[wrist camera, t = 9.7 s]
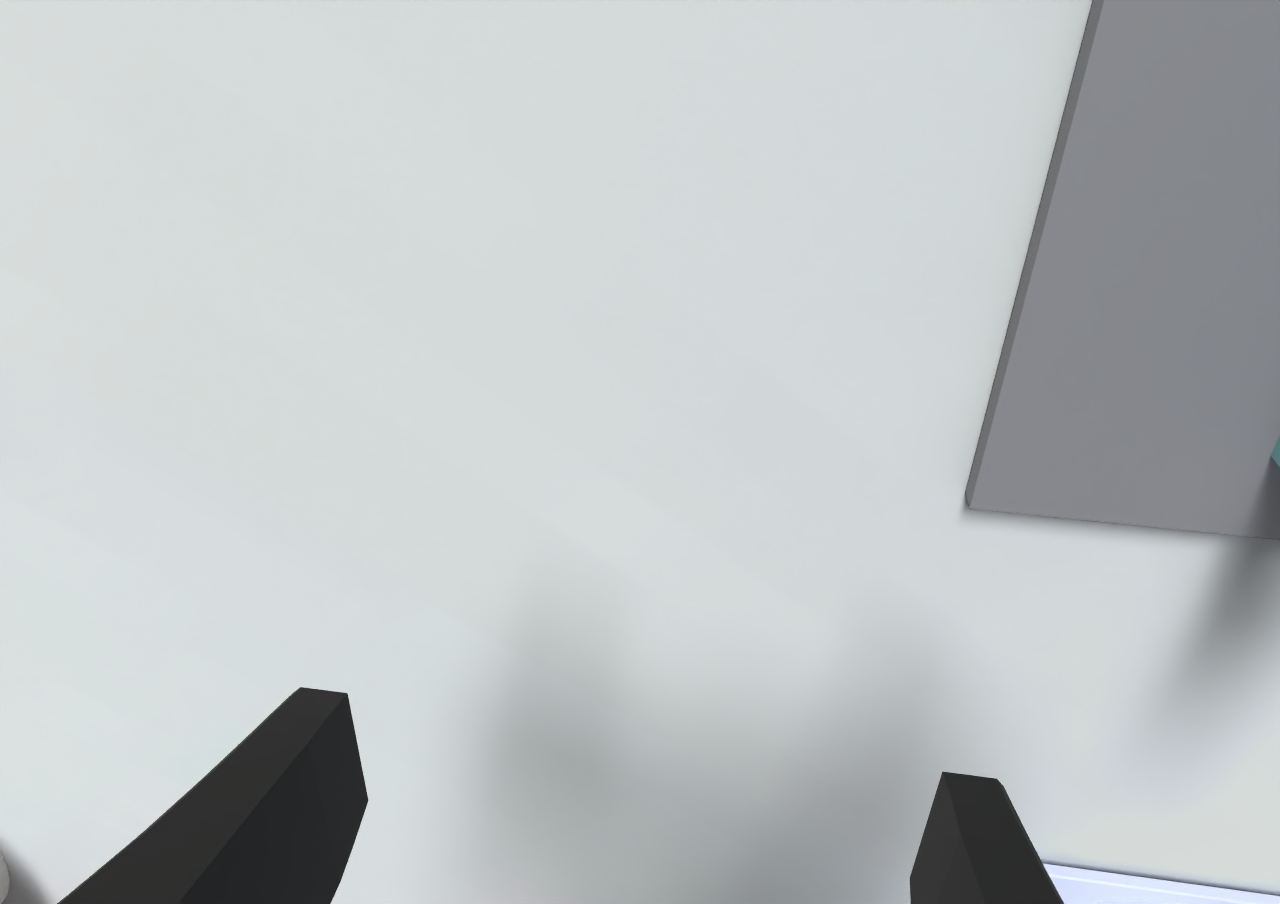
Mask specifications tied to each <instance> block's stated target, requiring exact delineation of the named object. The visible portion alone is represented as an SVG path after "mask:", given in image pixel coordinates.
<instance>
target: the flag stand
mask: <svg viewBox="0 0 1280 904" xmlns="http://www.w3.org/2000/svg"><path fill="white" fill-rule="evenodd" d="M9 885H10V877H9V872H8V867H7V864H6V862H5V860H4V858H3V856H2V854H1V852H0V904H1V903H2V902H3V901H4V899H5V898H6V896H7V895H8V891H9Z"/></svg>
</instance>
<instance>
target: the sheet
mask: <svg viewBox="0 0 1280 904" xmlns="http://www.w3.org/2000/svg"><path fill="white" fill-rule="evenodd" d="M1271 457H1272V458H1273V459H1274V460H1275V462H1276V463H1277V464H1278V465H1279V467H1280V436H1279V438H1278V440H1277V442H1276V445H1275V447H1274V449H1273V451H1272V453H1271Z"/></svg>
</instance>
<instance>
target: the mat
mask: <svg viewBox="0 0 1280 904" xmlns="http://www.w3.org/2000/svg"><path fill="white" fill-rule="evenodd" d="M1279 436H1280V0H1093V3H1092V6H1091V10H1090V14H1089V18H1088V22H1087V26H1086V30H1085V33H1084V37H1083V41H1082V45H1081V49H1080V53H1079V57H1078V60H1077V64H1076V68H1075V72H1074V76H1073V80H1072V84H1071V87H1070V91H1069V95H1068V99H1067V103H1066V107H1065V111H1064V114H1063V118H1062V122H1061V126H1060V130H1059V134H1058V138H1057V141H1056V145H1055V149H1054V153H1053V157H1052V161H1051V165H1050V168H1049V172H1048V176H1047V180H1046V184H1045V188H1044V192H1043V195H1042V199H1041V203H1040V207H1039V211H1038V215H1037V219H1036V222H1035V226H1034V230H1033V234H1032V238H1031V242H1030V246H1029V249H1028V253H1027V257H1026V261H1025V265H1024V269H1023V273H1022V276H1021V280H1020V284H1019V288H1018V292H1017V296H1016V300H1015V303H1014V307H1013V311H1012V315H1011V319H1010V323H1009V327H1008V330H1007V334H1006V338H1005V342H1004V346H1003V350H1002V354H1001V357H1000V361H999V365H998V369H997V373H996V377H995V381H994V384H993V388H992V392H991V396H990V400H989V404H988V408H987V411H986V415H985V419H984V423H983V427H982V431H981V435H980V438H979V442H978V446H977V450H976V454H975V458H974V462H973V465H972V469H971V473H970V477H969V481H968V485H967V489H966V492H965V493H966V497H967V501H968V505H969V508H970V509H979V510H989V511H998V512H1008V513H1018V514H1028V515H1038V516H1048V517H1058V518H1068V519H1078V520H1088V521H1097V522H1107V523H1117V524H1127V525H1137V526H1147V527H1157V528H1167V529H1177V530H1187V531H1197V532H1206V533H1216V534H1226V535H1236V536H1246V537H1256V538H1266V539H1276V540H1280V467H1279V465H1278V464H1277V463H1276V462H1275V460H1274V459H1273V458H1272V457H1271V453H1272V451H1273V449H1274V447H1275V445H1276V442H1277V440H1278V438H1279Z"/></svg>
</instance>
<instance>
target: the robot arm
mask: <svg viewBox="0 0 1280 904" xmlns="http://www.w3.org/2000/svg"><path fill="white" fill-rule="evenodd" d="M367 803H368V797H367V792H366V786H365V781H364V776H363V771H362V766H361V761H360V756H359V750H358V745H357V740H356V735H355V730H354V725H353V720H352V714H351V709H350V704H349V699H348V694H347V693H341V692H333V691H326V690H318V689H310V688H303V687H300V688H299V689H298V690H296V691H295V692H294V693H293V694H292V695H291V696H289V697H288V698H287V699H286V700H285V701H284V702H283V703H282V704H281V705H280V706H279V707H278V708H277V709H276V710H275V711H274V712H273V713H271V714H270V715H269V716H268V717H267V718H266V719H265V720H264V721H263V722H262V723H261V724H260V725H259V726H258V727H257V728H256V729H255V730H254V731H253V732H252V733H251V734H249V735H248V736H247V737H246V738H245V739H244V740H243V741H242V742H241V743H240V744H239V745H238V746H237V747H236V748H235V749H234V750H233V751H232V752H230V753H229V754H228V755H227V756H226V757H225V758H224V759H223V760H222V761H221V762H220V763H219V764H218V765H217V766H216V767H214V768H213V769H212V770H211V771H210V772H209V773H208V774H207V775H206V776H205V777H204V778H203V779H202V780H201V781H199V782H198V783H197V784H196V785H195V786H194V787H193V788H192V789H191V790H189V791H188V792H187V793H186V794H185V795H184V796H183V797H182V798H181V799H179V800H178V801H177V802H176V803H175V804H174V805H173V806H172V807H171V808H169V809H168V810H167V811H166V812H165V813H164V814H163V815H162V816H161V817H159V818H158V819H157V820H156V821H155V822H154V823H153V824H152V825H151V826H149V827H148V828H147V829H146V830H145V831H144V832H143V833H141V834H140V835H139V836H138V837H137V838H136V839H135V840H133V841H132V842H131V843H130V844H129V845H127V846H126V847H125V848H124V849H123V850H121V851H120V852H119V853H118V854H117V855H115V856H114V857H113V858H112V859H111V860H109V861H108V862H107V863H106V864H105V865H103V866H102V867H101V868H100V869H99V870H97V871H96V872H95V873H94V874H93V875H91V876H90V877H89V878H88V879H87V880H85V881H84V882H83V883H82V884H81V885H80V886H78V887H77V888H76V889H75V890H74V891H72V892H71V893H70V894H69V895H67V896H66V897H65V898H64V899H62V900H61V901H60V902H59V903H57V904H330V903H331V901H332V899H333V897H334V895H335V892H336V890H337V888H338V886H339V884H340V881H341V879H342V876H343V873H344V870H345V867H346V865H347V862H348V859H349V856H350V853H351V851H352V848H353V845H354V842H355V839H356V836H357V833H358V830H359V827H360V824H361V821H362V818H363V815H364V812H365V809H366V806H367ZM910 895H911V904H1280V896H1275V895H1268V894H1261V893H1254V892H1246V891H1239V890H1232V889H1225V888H1217V887H1210V886H1203V885H1196V884H1188V883H1181V882H1174V881H1167V880H1159V879H1152V878H1145V877H1138V876H1130V875H1123V874H1116V873H1109V872H1101V871H1094V870H1087V869H1080V868H1072V867H1065V866H1058V865H1051V864H1043V863H1042V862H1041V860H1040V858H1039V856H1038V854H1037V852H1036V850H1035V848H1034V846H1033V844H1032V842H1031V840H1030V839H1029V837H1028V835H1027V833H1026V831H1025V829H1024V827H1023V825H1022V823H1021V821H1020V819H1019V817H1018V815H1017V813H1016V811H1015V809H1014V807H1013V805H1012V803H1011V801H1010V799H1009V796H1008V794H1007V792H1006V790H1005V788H1004V786H1003V785H1002V784H1001V783H1000V782H999V781H998V780H997V779H994V778H987V777H979V776H972V775H964V774H956V773H949V772H942V775H941V778H940V782H939V785H938V788H937V791H936V795H935V798H934V801H933V804H932V808H931V811H930V814H929V817H928V821H927V824H926V827H925V830H924V834H923V837H922V840H921V843H920V847H919V850H918V853H917V856H916V860H915V863H914V866H913V869H912V873H911V876H910Z"/></svg>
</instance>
